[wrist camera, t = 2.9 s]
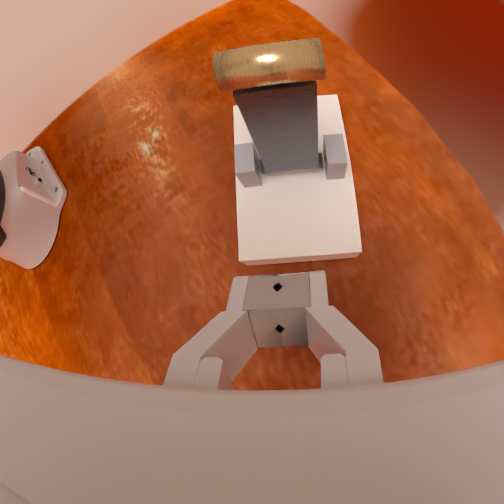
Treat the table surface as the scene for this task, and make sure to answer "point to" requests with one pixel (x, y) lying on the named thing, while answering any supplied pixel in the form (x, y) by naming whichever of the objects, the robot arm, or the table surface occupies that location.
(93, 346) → the table surface
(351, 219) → the white rectangular block
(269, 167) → the lever
